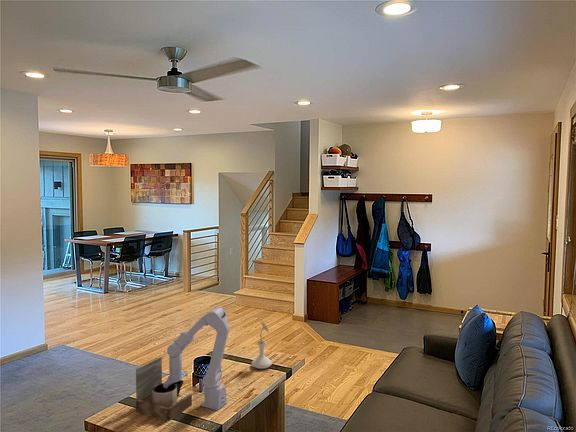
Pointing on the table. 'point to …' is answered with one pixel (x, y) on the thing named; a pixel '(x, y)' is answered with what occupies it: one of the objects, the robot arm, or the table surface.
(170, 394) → the planter
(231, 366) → the table surface
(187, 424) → the table surface
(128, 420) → the table surface
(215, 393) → the robot arm
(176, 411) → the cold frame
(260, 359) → the flower in vase
